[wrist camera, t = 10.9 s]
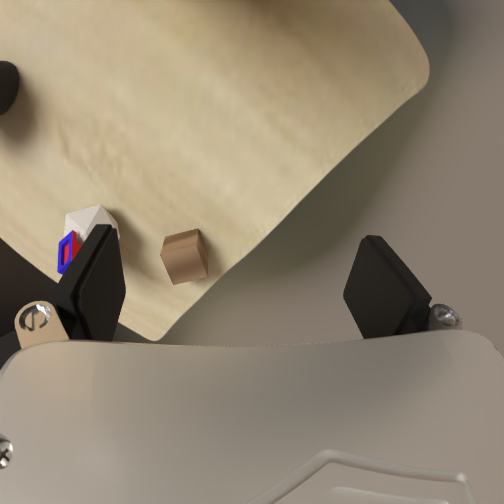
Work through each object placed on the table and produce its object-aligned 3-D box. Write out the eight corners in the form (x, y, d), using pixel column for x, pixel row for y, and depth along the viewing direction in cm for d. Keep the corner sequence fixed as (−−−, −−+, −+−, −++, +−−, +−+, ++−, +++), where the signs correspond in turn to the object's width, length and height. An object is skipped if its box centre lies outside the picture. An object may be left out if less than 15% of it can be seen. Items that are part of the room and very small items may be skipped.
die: (105, 182, 37) (46, 210, 30) (141, 225, 36) (81, 261, 29) (98, 219, 42) (48, 246, 35) (129, 258, 42) (79, 292, 35)
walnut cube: (165, 236, 42) (160, 255, 37) (198, 228, 42) (196, 246, 37) (176, 264, 44) (173, 284, 40) (208, 257, 44) (207, 277, 40)
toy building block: (79, 253, 34) (80, 299, 31) (58, 242, 31) (56, 289, 28) (93, 241, 34) (95, 288, 30) (72, 229, 31) (71, 277, 27)
